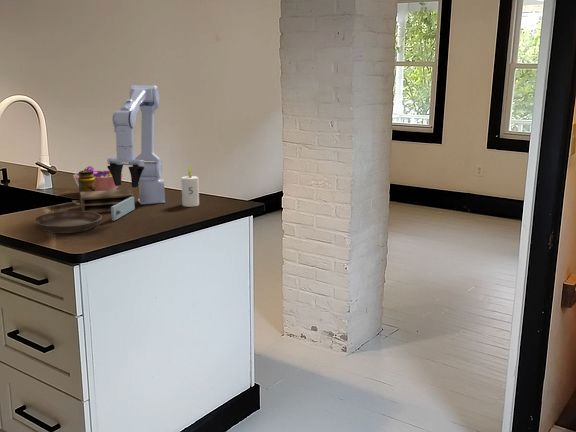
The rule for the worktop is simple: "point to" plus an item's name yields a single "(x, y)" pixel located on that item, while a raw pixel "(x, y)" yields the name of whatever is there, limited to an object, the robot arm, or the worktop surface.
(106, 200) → the cabinet
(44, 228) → the plant saucer
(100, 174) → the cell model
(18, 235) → the worktop surface
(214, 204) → the worktop surface
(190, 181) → the candle
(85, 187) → the condiment
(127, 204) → the door
